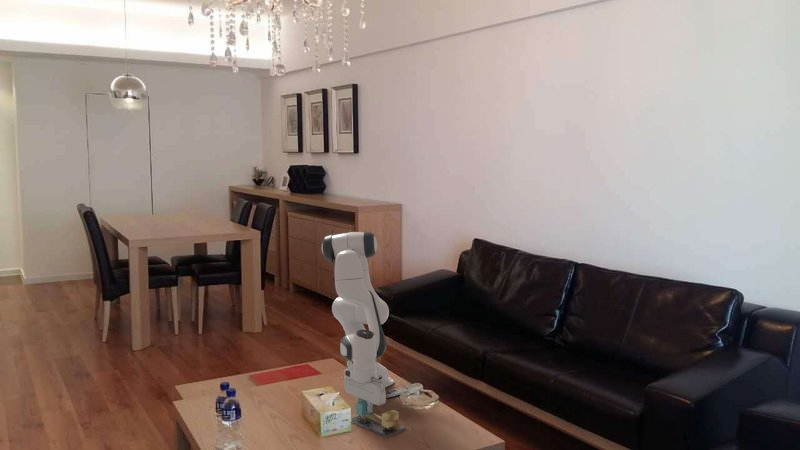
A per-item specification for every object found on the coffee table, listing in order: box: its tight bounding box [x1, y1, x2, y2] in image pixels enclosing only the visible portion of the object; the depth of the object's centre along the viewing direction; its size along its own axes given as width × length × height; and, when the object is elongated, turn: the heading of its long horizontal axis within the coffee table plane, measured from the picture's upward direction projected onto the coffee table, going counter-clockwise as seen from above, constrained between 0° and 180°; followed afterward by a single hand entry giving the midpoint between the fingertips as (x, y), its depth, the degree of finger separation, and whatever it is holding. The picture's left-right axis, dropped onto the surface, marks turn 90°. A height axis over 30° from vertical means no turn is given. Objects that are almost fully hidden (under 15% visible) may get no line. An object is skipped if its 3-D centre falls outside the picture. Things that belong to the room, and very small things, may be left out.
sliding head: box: [356, 400, 374, 419], centre depth 252 cm, size 6×3×6 cm, turn 134°
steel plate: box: [351, 414, 407, 439], centre depth 247 cm, size 10×20×1 cm, turn 44°
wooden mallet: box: [364, 409, 402, 431], centre depth 247 cm, size 6×19×6 cm, turn 44°
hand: (364, 409), depth 252 cm, fingers closed on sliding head, 3 cm apart
